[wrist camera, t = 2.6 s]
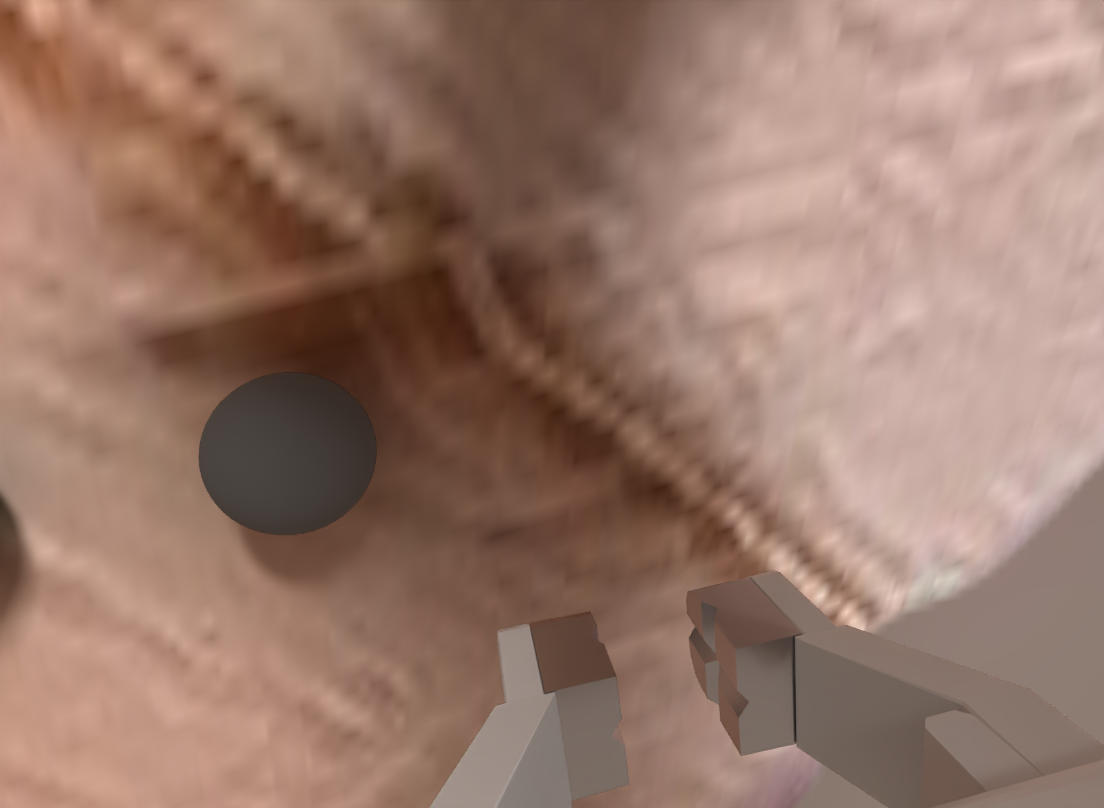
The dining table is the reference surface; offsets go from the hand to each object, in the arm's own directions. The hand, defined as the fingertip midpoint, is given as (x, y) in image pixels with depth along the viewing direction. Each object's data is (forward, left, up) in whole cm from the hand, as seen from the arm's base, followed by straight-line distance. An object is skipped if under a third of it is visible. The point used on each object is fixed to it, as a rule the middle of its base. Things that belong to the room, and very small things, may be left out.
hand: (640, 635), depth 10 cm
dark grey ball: (+9, 0, -14) cm, 17 cm away
